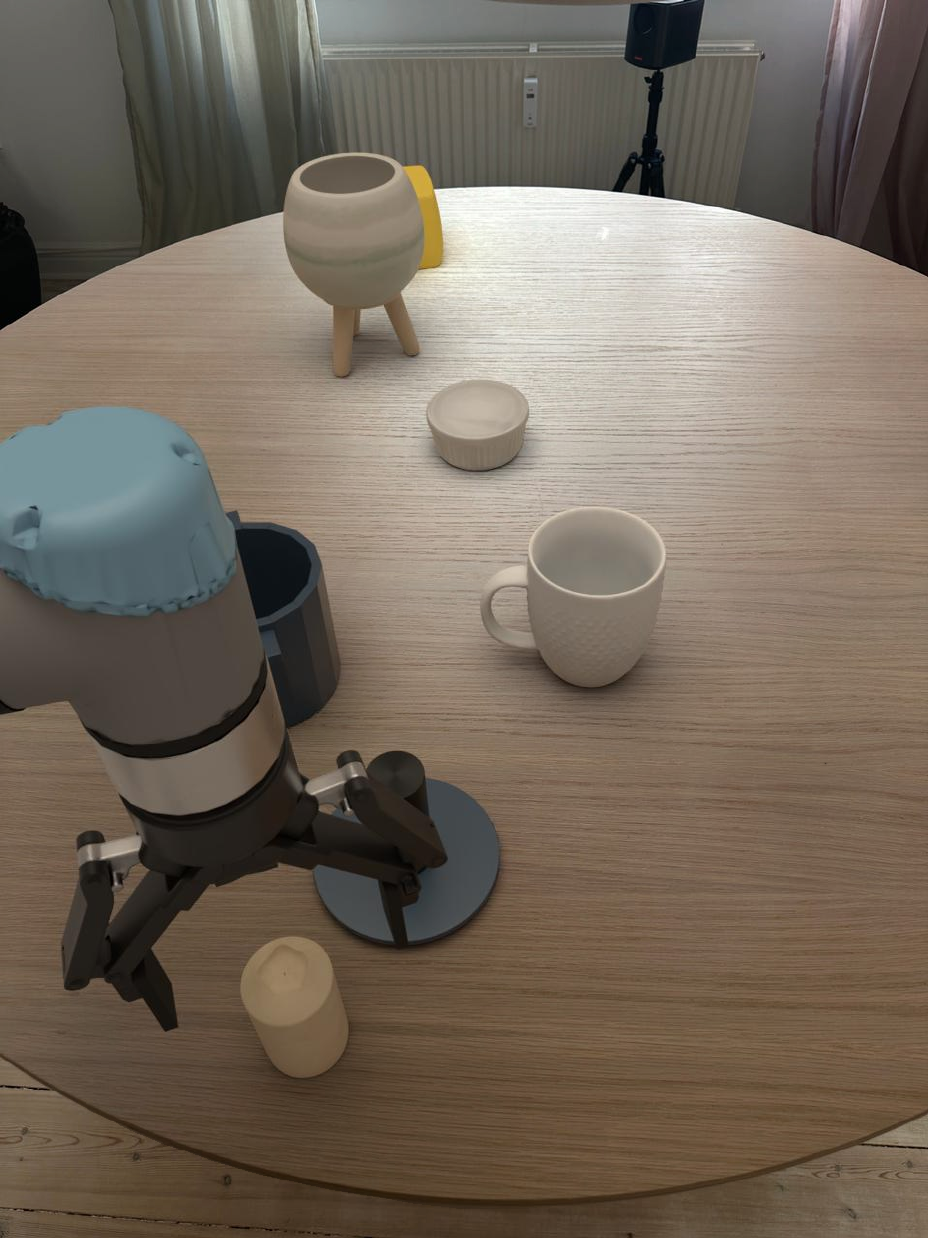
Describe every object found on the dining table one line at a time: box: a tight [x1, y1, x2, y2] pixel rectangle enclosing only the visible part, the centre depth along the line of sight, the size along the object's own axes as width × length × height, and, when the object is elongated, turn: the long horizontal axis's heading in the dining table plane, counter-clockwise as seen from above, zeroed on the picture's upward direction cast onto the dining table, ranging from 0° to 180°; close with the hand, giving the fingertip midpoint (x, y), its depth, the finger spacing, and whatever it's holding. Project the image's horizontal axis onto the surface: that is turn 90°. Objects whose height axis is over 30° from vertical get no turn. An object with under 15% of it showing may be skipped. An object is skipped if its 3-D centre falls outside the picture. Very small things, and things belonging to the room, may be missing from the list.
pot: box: [226, 510, 341, 729], centre depth 82 cm, size 13×18×12 cm
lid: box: [312, 749, 501, 946], centre depth 69 cm, size 14×14×11 cm
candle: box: [239, 935, 350, 1079], centre depth 61 cm, size 6×6×10 cm
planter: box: [282, 152, 425, 378], centre depth 116 cm, size 16×16×22 cm
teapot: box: [402, 165, 444, 270], centre depth 139 cm, size 20×12×12 cm, turn 9°
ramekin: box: [425, 379, 530, 472], centre depth 108 cm, size 11×11×5 cm
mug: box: [479, 506, 667, 688], centre depth 82 cm, size 15×11×13 cm
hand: (285, 967), depth 57 cm, fingers open, 13 cm apart
